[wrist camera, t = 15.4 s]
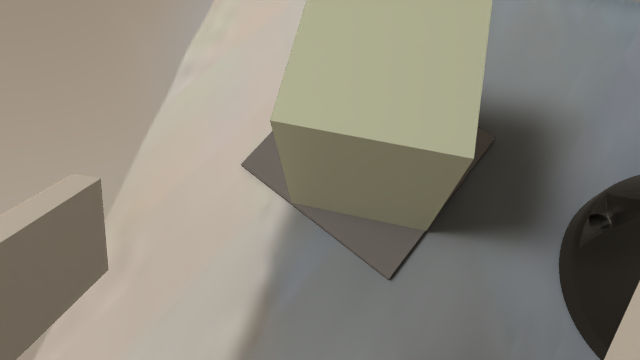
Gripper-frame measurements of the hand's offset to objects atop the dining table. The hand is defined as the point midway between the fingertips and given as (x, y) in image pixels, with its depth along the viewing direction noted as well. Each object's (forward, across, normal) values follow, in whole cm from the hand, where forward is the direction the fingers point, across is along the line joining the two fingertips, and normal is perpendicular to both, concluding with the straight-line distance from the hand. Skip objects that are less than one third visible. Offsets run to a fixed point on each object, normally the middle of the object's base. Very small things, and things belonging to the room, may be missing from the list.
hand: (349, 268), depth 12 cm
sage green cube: (+24, 0, -6) cm, 25 cm away
